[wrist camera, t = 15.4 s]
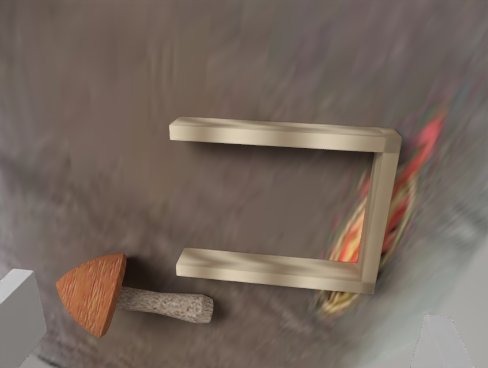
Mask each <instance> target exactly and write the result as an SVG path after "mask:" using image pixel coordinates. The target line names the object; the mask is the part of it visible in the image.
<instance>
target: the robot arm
mask: <svg viewBox="0 0 488 368" xmlns="http://www.w3.org/2000/svg"><path fill="white" fill-rule="evenodd" d="M46 332H47V328H46V323H45V319H44V314H43V309H42V305H41V300H40V296H39V291H38V287H37V282H36V278H35V273H34V271H31V270H22V269H13V270H11V271H10V272H9V273H8V274H7V275H6V276H5V277H4V278H3V279H2V280H0V368H19V367H20V366H21V364H22V363H23V362H24V360H25V359H26V358H27V357H28V355H29V354H30V353H31V351H32V350H33V349H34V348H35V346H36V345H37V344H38V342H39V341H40V340H41V339H42V337H43V336H44V335H45V333H46ZM410 368H475V366H474V364H473V362H472V360H471V358H470V356H469V354H468V352H467V350H466V348H465V346H464V344H463V341H462V340H461V337H460V335H459V333H458V331H457V330H456V327H455V325H454V323H453V321H452V319H451V317H444V316H436V315H427V314H425V317H424V320H423V324H422V327H421V331H420V334H419V338H418V341H417V345H416V348H415V352H414V355H413V359H412V363H411V366H410Z"/></svg>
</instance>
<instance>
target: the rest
mask: <svg viewBox="0 0 488 368" xmlns="http://www.w3.org/2000/svg"><path fill="white" fill-rule="evenodd" d="M170 140H184V141H201V142H217V143H234V144H250V145H267V146H283V147H300V148H317V149H333V150H350V151H366V152H374V159H373V165H372V171H371V177H370V184H369V190H368V196H367V203H366V209H365V215H364V222H363V228H362V234H361V241H360V247H359V253H358V260H357V263H351V262H340V261H329V260H317V259H306V258H295V257H284V256H273V255H261V254H250V253H239V252H228V251H217V250H205V249H194V248H184V250H183V252H182V254H181V256H180V258H179V260H178V262H177V264H176V271H177V276H187V277H198V278H208V279H218V280H229V281H239V282H249V283H260V284H270V285H280V286H291V287H301V288H311V289H321V290H332V291H342V292H352V293H363V294H373V295H374V289H375V284H376V278H377V273H378V267H379V262H380V256H381V251H382V246H383V240H384V235H385V229H386V224H387V218H388V213H389V207H390V202H391V197H392V191H393V186H394V180H395V175H396V169H397V164H398V158H399V153H400V148H401V142H402V138H401V136H400V135H399V134H398V133H397V132H396V131H395V130H394V128H378V127H360V126H341V125H323V124H304V123H286V122H267V121H249V120H230V119H212V118H193V117H179V118H178V119H176V120H175V121H174V122H173V123H172V124H170Z"/></svg>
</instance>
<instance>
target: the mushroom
mask: <svg viewBox="0 0 488 368" xmlns="http://www.w3.org/2000/svg"><path fill="white" fill-rule="evenodd" d="M126 261H127V258H126V256H125V255H124V253H118V254H111V255H105V256H101V257H97V258H95V259H92V260H90V261H87V262H85V263H83V264H81V265H79V266H77V267H75V268H74V269H72V270H71V271H69V272H67V273H66V274H65V275H64V276H63V277H62V278H61V279H60V280H58V281H57V282H56V286H57V290H58V293H59V297H60V299H61V301H62V303H63V305H64V306H65V308H66V309H67V311H68V312H69V314H70V315H71V316H72V317H73V318H74V319H75V321H76V322H77V323H78V324H80V325H81V326H82V327H83V328H84V329H86V330H87V331H89V332H90V333H92V334H93V335H95V336H96V337H98V338H100V337H102V336H103V335H105V333H106V332H107V330H108V328H109V326H110V323H111V320H112V317H113V314H114V311H115V309H122V310H132V311H142V312H152V313H159V314H162V315H166V316H170V317H174V318H178V319H181V320H185V321H189V322H193V323H209V322H210V319H211V317H212V313H213V300H212V298H209V297H207V296H205V295H203V294H186V293H159V292H154V291H148V290H142V289H136V288H131V287H125V286H122V282H123V278H124V274H125V269H126Z"/></svg>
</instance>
